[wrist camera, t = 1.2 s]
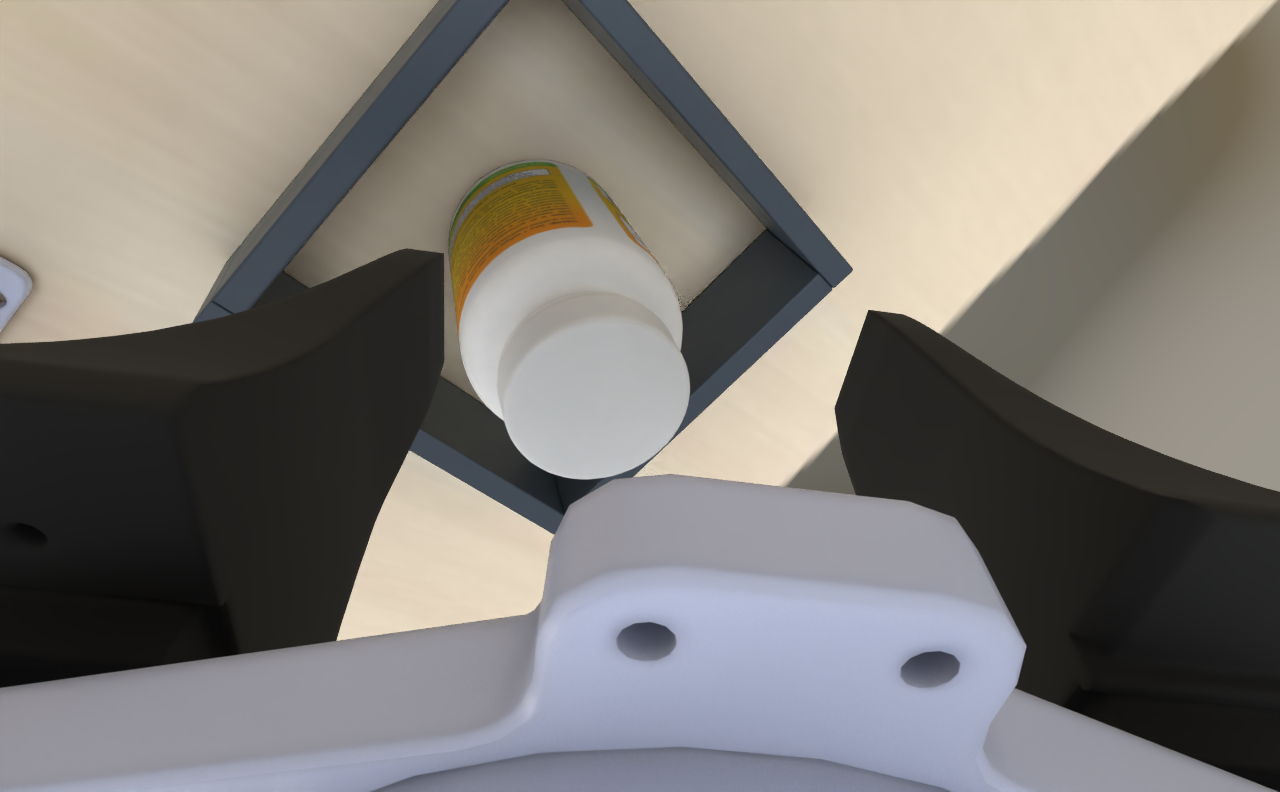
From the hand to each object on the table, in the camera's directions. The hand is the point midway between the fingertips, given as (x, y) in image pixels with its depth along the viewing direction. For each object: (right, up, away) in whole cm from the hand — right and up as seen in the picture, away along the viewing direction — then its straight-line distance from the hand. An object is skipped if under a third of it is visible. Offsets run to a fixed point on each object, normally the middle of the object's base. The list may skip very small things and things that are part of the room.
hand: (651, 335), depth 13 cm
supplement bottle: (-4, +4, +11) cm, 12 cm away
